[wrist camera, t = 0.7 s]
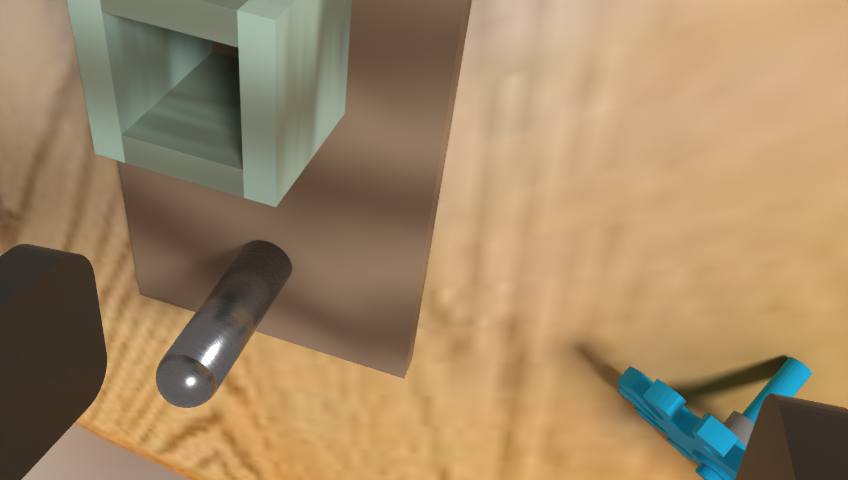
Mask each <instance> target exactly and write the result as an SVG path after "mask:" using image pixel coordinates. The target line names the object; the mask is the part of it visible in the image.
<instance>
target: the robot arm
mask: <svg viewBox="0 0 848 480" xmlns="http://www.w3.org/2000/svg"><path fill="white" fill-rule="evenodd" d="M106 367H107V353H106V347H105V340H104V334H103V327H102V321H101V314H100V308H99V302H98V295H97V289H96V282H95V276H94V271H93V268H92V265H91V263H90V262H89V260H88V259H87V258H86V257H85V256H83V255H80V254H75V253H70V252H65V251H60V250H55V249H50V248H45V247H39V246H34V245H29V244H21V245H17V246H15V247H13V248H12V249H10V250H9V251H7V252H6V253H4V254H3V255H1V256H0V480H21V479H22V478H23V477H24V476H25V475H26V474H27V473H28V472H29V471H30V469H31V468H32V467H33V466H34V465H35V464H36V463H37V462H38V461H39V460H40V459H41V458H42V457H43V456H44V455H45V454H46V452H47V451H48V450H49V449H50V448H51V447H52V446H53V445H54V444H55V443H56V442H57V441H58V440H59V439H60V437H61V436H62V435H63V434H64V433H65V432H66V431H67V430H68V429H69V428H70V427H71V426H72V424H73V423H74V422H75V421H76V420H77V419H78V418H79V417H80V416H81V415H82V414H83V413H84V412H85V411H86V409H87V408H88V407H89V406H90V405H91V404H92V403H93V401H94V400H95V398H96V397H97V395H98V393H99V391H100V389H101V386H102V384H103V381H104V377H105V373H106ZM735 480H848V410H847V409H846V408H843V407H838V406H833V405H828V404H823V403H818V402H813V401H808V400H803V399H798V398H793V397H788V396H783V395H778V394H773V393H771V394H769V395H768V396H766V398H765V399H764V401H763V403H762V405H761V407H760V410H759V413H758V415H757V418H756V421H755V424H754V427H753V430H752V432H751V435H750V438H749V441H748V444H747V447H746V450H745V452H744V455H743V458H742V461H741V464H740V467H739V469H738V472H737V475H736V478H735Z"/></svg>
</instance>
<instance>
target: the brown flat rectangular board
mask: <svg viewBox="0 0 848 480" xmlns="http://www.w3.org/2000/svg"><path fill="white" fill-rule="evenodd" d="M471 2H472V0H352V5H351V21H350V37H349V53H348V69H347V85H346V101H345V114H344V115H343V116H342V118H341V119H340V120H339V122H338V123H337V125H336V126H335V127H334V129H333V130H332V131H331V133H330V134H329V136H328V137H327V138H326V140H325V141H324V142H323V144H322V145H321V146H320V148H319V149H318V151H317V152H316V153H315V155H314V156H313V157H312V159H311V160H310V162H309V163H308V164H307V166H306V167H305V168H304V170H303V171H302V172H301V174H300V175H299V177H298V178H297V179H296V181H295V182H294V183H293V185H292V186H291V188H290V189H289V190H288V192H287V193H286V194H285V196H284V197H283V198H282V200H281V201H280V203H279V204H278V205H277V207H274V206H270V205H267V204H264V203H260V202H257V201H253V200H250V199H246V198H243V197H240V196H236V195H233V194H229V193H226V192H223V191H219V190H216V189H212V188H209V187H206V186H202V185H199V184H195V183H192V182H189V181H185V180H182V179H178V178H175V177H172V176H168V175H165V174H161V173H158V172H155V171H151V170H148V169H144V168H141V167H138V166H134V165H131V164H127V163H124V162H120V161H118V165H119V171H120V177H121V183H122V190H123V196H124V202H125V208H126V214H127V220H128V226H129V232H130V238H131V244H132V250H133V257H134V263H135V269H136V275H137V281H138V287H139V293H140V295H143V296H147V297H150V298H153V299H156V300H159V301H162V302H165V303H169V304H172V305H175V306H178V307H181V308H184V309H187V310H191V311H194V312H197V311H198V309H199V308H200V307H201V305H202V304H203V302H204V301H205V300H206V298H207V297H208V296H209V294H210V293H211V292H212V290H213V289H214V287H215V286H216V285H217V283H218V282H219V281H220V279H221V278H222V277H223V275H224V274H225V273H226V271H227V270H228V268H229V267H230V266H231V264H232V263H233V262H234V260H235V259H236V258H237V256H238V255H239V253H240V252H241V251H242V249H243V248H244V247H245V245H246V244H247V243H249V242H251V241H254V240H263V241H267V242H270V243H273V244H275V245H276V246H278V247H279V248H281V249H282V250H283V251H284V252H285V253H286V254H287V256H288V257H289V259H290V261H291V264H292V273H291V275H290V277H289V278H288V280H287V281H286V283H285V285H284V286H283V288H282V289H281V291H280V292H279V294H278V296H277V297H276V299H275V300H274V302H273V303H272V305H271V307H270V308H269V310H268V311H267V313H266V314H265V316H264V317H263V319H262V321H261V322H260V324H259V325H258V327H257V328H256V330H255V331H256V332H260V333H263V334H266V335H269V336H272V337H275V338H278V339H282V340H285V341H288V342H291V343H294V344H297V345H300V346H304V347H307V348H310V349H313V350H316V351H319V352H322V353H326V354H329V355H332V356H335V357H338V358H341V359H344V360H347V361H351V362H354V363H357V364H360V365H363V366H366V367H369V368H373V369H376V370H379V371H382V372H385V373H388V374H391V375H395V376H398V377H401V378H404V377H405V375H406V372H407V370H408V368H409V365H410V363H411V360H412V354H413V348H414V342H415V337H416V331H417V325H418V319H419V313H420V307H421V301H422V295H423V289H424V283H425V277H426V271H427V265H428V259H429V253H430V247H431V241H432V235H433V229H434V223H435V217H436V211H437V205H438V199H439V193H440V187H441V181H442V175H443V169H444V163H445V157H446V151H447V145H448V139H449V133H450V127H451V121H452V115H453V109H454V103H455V97H456V91H457V86H458V80H459V74H460V68H461V62H462V56H463V50H464V44H465V38H466V32H467V26H468V20H469V14H470V8H471ZM212 51H213V52H215V53H219V54H222V55H226V56H230V57H234V58H237V59H239V49H238V47H234V46H230V45H227V44H223V43H219V42H215V41H212Z"/></svg>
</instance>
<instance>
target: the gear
mask: <svg viewBox="0 0 848 480" xmlns="http://www.w3.org/2000/svg"><path fill="white" fill-rule="evenodd" d="M811 374H812V372H811V371H810V370H809V369H808V368H807V367H806V366H805V365H804V364H802V363H801V362H799V361H798V360H796V359H794V358H791V357H789V358H788V359H787V361H786V362H785V363H784V364H783V365H782V367H781V368H780V369H779V370H778V371H777V373H776V374H775V375H774V376H773V378H772V379H771V380H770V381H769V382H768V384H767V385H766V386H765V387H764V388H763V390H762V391H761V392H760V393H759V394H758V396H757V397H756V398H755V399H754V400H753V402H752V403H751V404H750V405H749V406H748V408H747V409H746V410H745V411H744V413H743V414H740V413H738V412H736V411H734V412H733V413H732V414H731V415H730V416H729V418H728V419H727V420H726V421H725V422H724V424H722V423H720V422H719V421H718V420H717V419H715V418H714V417H713V416H712V415H710V414H706V415H705V416H704V417H703V419H700V418H698V417H697V416H695V415H694V414H693V413H691V412H690V411H689V410H688V409H687V408H686V407H685V406H684V404H685V403H686V401H685V400H684V398H683V397H682V396H681V395H679V394H678V393H677V392H676V391H674V390H673V389H671V388H670V387H669V386H667V385H666V384H664V383H663V382H661V381H660V380H658V379H657V380H656V381H655V382H654V383H653V382H652V381H651V380H650V379H649V378H648V377H646V376H645V375H644V374H643V373H641V372H640V371H638V370H636V369H634V368H632V367H629V368H628V369H627V370H626V371H625V373H624V374H623V375H622V376H621V377H620V378H619V380H618V381H617V383H618V384H619V385H620V387H619V388H618V392H619V393H621V394H622V395H623V396H624V397H625V398H626V399H628V400H629V401H630V402H631V403H633V404H634V405H635V406H636V408H635V410H636V411H637V412H638V413H639V414H640V416H641V417H642V418H644V419H645V420H646V421H647V422H649V423H650V424H651V425H653V426H654V427H656V428H657V429H659V430H660V431H661V432H663V433H664V434H666V435H667V436H668V437H669V438H668V439H667V440H668V441H669V442H670V443H671V444H672V445H673V446H674V447H675V448H676V449H677V450H678V451H680V452H681V453H682V454H683V455H684V456H686V457H687V458H689V459H690V460H693V461H695V462H697V463H698V464H700V466H699V467H698V468H697V469H696V470H695V471H696V472H697V473H698V474H699V475H700V476H701V477H702V478H703V479H704V480H735V478H736V475H737V472H738V469H739V467H740V464H741V461H742V458H743V455H744V452H745V450H746V447H747V444H748V441H749V438H750V435H751V432H752V430H753V427H754V424H755V421H756V418H757V415H758V413H759V410H760V407H761V405H762V403H763V401H764V399H765V398H766V396H768V395H769V394H771V393H773V394H778V395H783V396H788V397H793V396H794V395H795V394H796V392H797V391H798V390H799V389H800V388H801V386H802V385H803V384H804V383H805V382H806V380H807V379H808V378H809V377H810V376H811Z"/></svg>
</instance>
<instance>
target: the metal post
mask: <svg viewBox="0 0 848 480" xmlns="http://www.w3.org/2000/svg"><path fill="white" fill-rule="evenodd" d="M291 273H292V264H291V261H290V259H289V257H288V256H287V254H286V253H285V252H284V251H283V250H282V249H281V248H279V247H278V246H276V245H275V244H273V243H270V242H267V241H263V240H254V241H251V242H249V243H247V244H246V245H245V247H244V248H243V249H242V251H241V252H240V253H239V255H238V256H237V258H236V259H235V260H234V262H233V263H232V264H231V266H230V267H229V268H228V270H227V271H226V273H225V274H224V275H223V277H222V278H221V279H220V281H219V282H218V283H217V285H216V286H215V287H214V289H213V290H212V292H211V293H210V294H209V296H208V297H207V298H206V300H205V301H204V302H203V304H202V305H201V307H200V308H199V309H198V311H197V312H196V313H195V315H194V316H193V317H192V319H191V320H190V321H189V323H188V324H187V326H186V327H185V328H184V330H183V331H182V332H181V334H180V335H179V336H178V338H177V339H176V341H175V342H174V343H173V345H172V346H171V347H170V349H169V350H168V351H167V353H166V354H165V356H164V357H163V358H162V360H161V361H160V363H159V365H158V368H157V372H156V383H157V387H158V390H159V392H160V394H161V395H162V396H163V397H164V399H165V400H167V401H168V402H169V403H171V404H173V405H175V406H178V407H183V408H191V407H196V406H199V405H201V404H203V403H205V402H207V401H208V400H209V399H210V398H211V397H212V396H213V395H214V394H215V392H216V391H217V389H218V388H219V386H220V385H221V383H222V382H223V380H224V378H225V377H226V375H227V374H228V372H229V371H230V369H231V368H232V366H233V364H234V363H235V361H236V360H237V358H238V357H239V355H240V353H241V352H242V350H243V349H244V347H245V346H246V344H247V342H248V341H249V339H250V338H251V336H252V335H253V333H254V332H255V330H256V328H257V327H258V325H259V324H260V322H261V321H262V319H263V317H264V316H265V314H266V313H267V311H268V310H269V308H270V307H271V305H272V303H273V302H274V300H275V299H276V297H277V296H278V294H279V292H280V291H281V289H282V288H283V286H284V285H285V283H286V281H287V280H288V278H289V277H290V275H291Z"/></svg>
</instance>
